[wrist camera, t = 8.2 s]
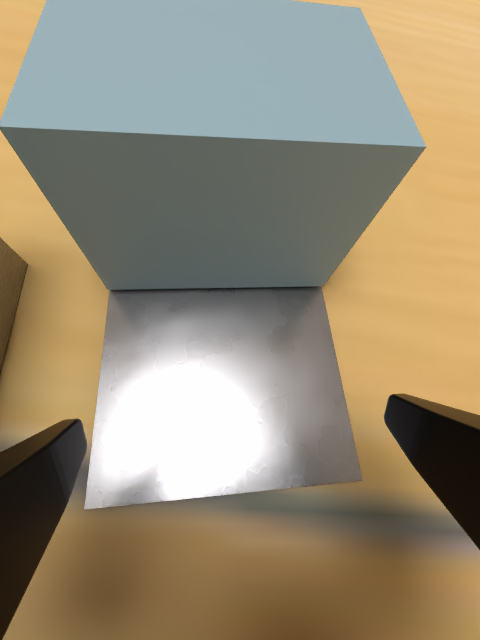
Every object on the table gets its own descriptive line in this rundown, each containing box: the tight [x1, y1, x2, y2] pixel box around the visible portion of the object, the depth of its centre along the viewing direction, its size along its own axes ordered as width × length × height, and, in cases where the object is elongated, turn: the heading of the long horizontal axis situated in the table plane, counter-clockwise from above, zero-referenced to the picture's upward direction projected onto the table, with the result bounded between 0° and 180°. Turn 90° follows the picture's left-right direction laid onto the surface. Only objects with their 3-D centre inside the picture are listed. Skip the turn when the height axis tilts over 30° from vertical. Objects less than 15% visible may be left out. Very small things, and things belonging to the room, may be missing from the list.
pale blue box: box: [0, 0, 426, 290], centre depth 16 cm, size 10×14×10 cm
